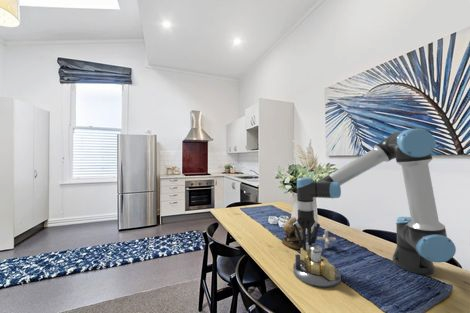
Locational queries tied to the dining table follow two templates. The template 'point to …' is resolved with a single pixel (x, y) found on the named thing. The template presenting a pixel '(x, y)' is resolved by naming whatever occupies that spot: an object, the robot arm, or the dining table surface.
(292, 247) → the owl figurine
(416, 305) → the dining table surface
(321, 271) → the beige segmented block
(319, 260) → the spigot plate
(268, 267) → the dining table surface
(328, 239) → the pipe connector
